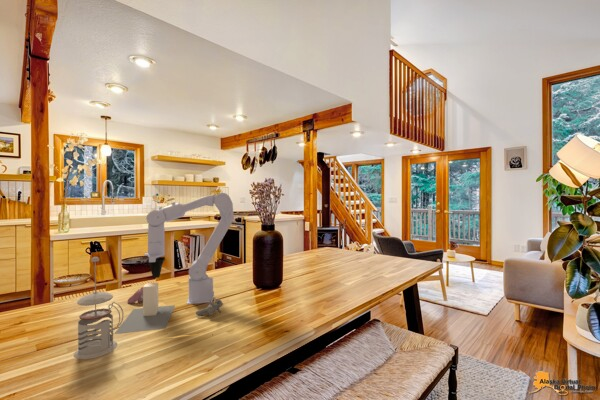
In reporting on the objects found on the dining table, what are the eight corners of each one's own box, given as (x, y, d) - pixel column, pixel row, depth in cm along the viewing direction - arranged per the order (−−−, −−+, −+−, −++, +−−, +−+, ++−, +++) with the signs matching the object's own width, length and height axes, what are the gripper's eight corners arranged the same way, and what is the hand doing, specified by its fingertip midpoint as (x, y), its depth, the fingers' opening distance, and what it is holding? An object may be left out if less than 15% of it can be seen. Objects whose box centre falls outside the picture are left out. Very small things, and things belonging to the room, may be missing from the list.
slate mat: (175, 306, 110) (175, 305, 110) (165, 329, 91) (165, 328, 91) (133, 310, 107) (133, 309, 107) (114, 335, 87) (114, 333, 87)
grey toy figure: (201, 311, 106) (225, 301, 107) (204, 327, 102) (228, 317, 103) (189, 301, 99) (215, 290, 99) (191, 318, 95) (218, 307, 96)
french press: (88, 341, 84) (87, 253, 84) (130, 339, 85) (130, 252, 85) (63, 360, 74) (62, 261, 74) (112, 358, 75) (111, 260, 75)
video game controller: (134, 309, 112) (141, 293, 111) (125, 303, 113) (132, 287, 112) (152, 300, 122) (159, 285, 121) (143, 294, 122) (150, 280, 122)
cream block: (158, 310, 105) (158, 282, 105) (156, 314, 101) (155, 286, 101) (146, 311, 104) (145, 283, 104) (143, 316, 100) (142, 286, 100)
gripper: (149, 239, 118) (149, 273, 118) (139, 245, 104) (139, 283, 104) (168, 238, 120) (168, 272, 120) (161, 244, 106) (161, 282, 106)
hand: (156, 277), depth 112 cm, fingers closed
